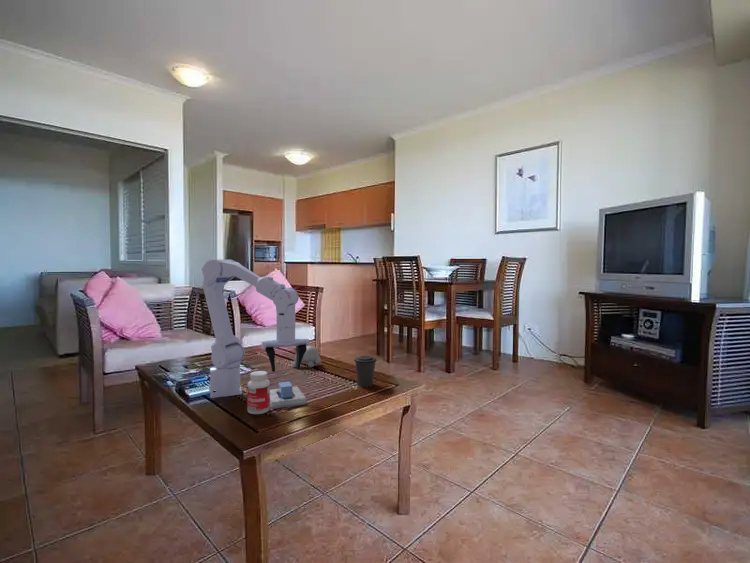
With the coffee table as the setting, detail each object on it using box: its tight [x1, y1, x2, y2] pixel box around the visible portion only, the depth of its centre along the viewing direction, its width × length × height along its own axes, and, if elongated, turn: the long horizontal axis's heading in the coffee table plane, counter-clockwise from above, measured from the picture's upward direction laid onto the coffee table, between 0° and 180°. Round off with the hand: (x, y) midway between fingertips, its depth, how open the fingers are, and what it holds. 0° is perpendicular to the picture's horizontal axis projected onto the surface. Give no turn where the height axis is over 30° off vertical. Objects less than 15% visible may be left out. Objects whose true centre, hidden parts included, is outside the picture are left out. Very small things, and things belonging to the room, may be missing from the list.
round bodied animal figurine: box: [290, 345, 322, 369], centre depth 158 cm, size 7×12×8 cm, turn 99°
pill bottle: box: [246, 370, 271, 415], centre depth 109 cm, size 6×6×11 cm
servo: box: [277, 381, 293, 400], centre depth 118 cm, size 8×3×5 cm, turn 24°
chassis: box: [270, 385, 307, 410], centre depth 118 cm, size 10×12×2 cm
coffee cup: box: [353, 355, 377, 388], centre depth 134 cm, size 8×8×10 cm
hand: (285, 369), depth 118 cm, fingers open, 7 cm apart
